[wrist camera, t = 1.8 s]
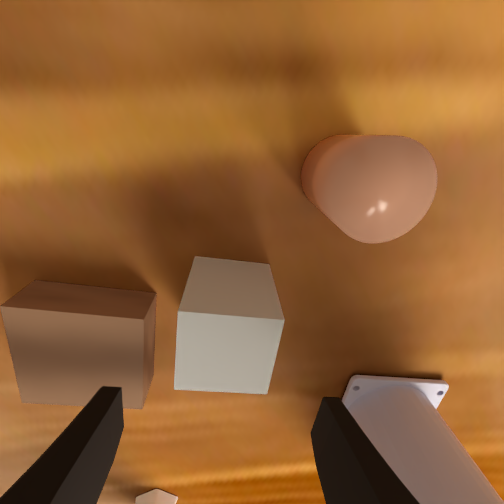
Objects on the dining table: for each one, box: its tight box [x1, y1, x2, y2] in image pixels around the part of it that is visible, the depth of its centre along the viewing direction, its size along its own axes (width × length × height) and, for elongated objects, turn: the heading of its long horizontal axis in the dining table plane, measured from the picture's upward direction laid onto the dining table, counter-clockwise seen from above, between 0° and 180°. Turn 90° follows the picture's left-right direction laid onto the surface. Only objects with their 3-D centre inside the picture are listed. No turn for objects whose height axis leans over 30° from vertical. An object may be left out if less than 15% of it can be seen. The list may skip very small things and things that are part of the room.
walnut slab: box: [0, 280, 157, 409], centre depth 17 cm, size 7×7×3 cm
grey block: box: [174, 256, 285, 394], centre depth 15 cm, size 4×4×6 cm
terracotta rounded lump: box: [301, 134, 437, 243], centre depth 13 cm, size 4×4×5 cm
